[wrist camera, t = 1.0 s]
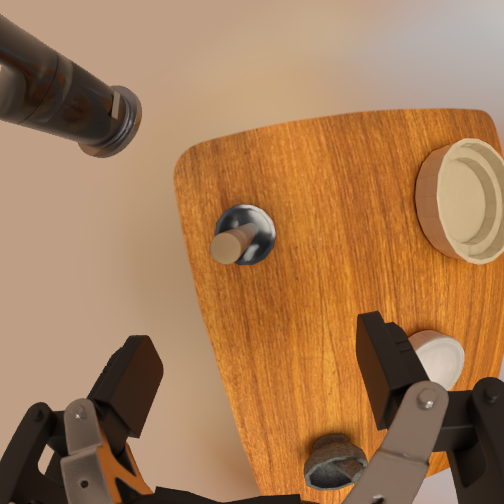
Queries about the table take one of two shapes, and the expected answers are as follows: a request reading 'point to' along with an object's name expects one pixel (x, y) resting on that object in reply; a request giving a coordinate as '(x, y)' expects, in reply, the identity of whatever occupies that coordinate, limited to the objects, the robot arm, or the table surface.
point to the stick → (232, 243)
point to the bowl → (463, 201)
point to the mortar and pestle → (334, 463)
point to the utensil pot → (244, 216)
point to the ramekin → (439, 356)
